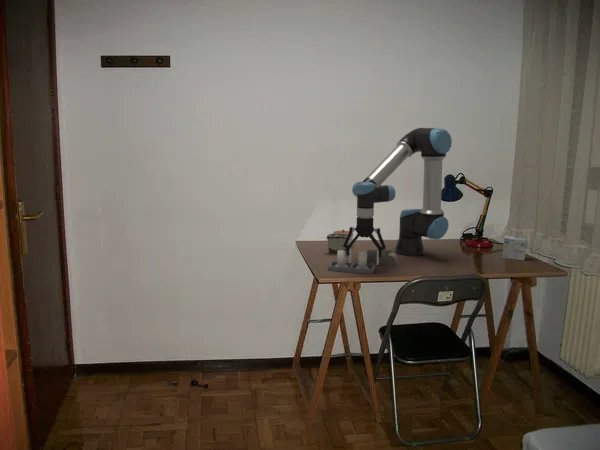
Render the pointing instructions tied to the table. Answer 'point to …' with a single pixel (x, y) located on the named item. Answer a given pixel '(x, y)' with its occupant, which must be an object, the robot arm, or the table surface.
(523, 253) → the light bulb box
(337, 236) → the food container
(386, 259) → the geological specimen
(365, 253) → the white pillar candle
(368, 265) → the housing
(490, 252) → the table surface
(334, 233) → the lidded jar
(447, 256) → the table surface
